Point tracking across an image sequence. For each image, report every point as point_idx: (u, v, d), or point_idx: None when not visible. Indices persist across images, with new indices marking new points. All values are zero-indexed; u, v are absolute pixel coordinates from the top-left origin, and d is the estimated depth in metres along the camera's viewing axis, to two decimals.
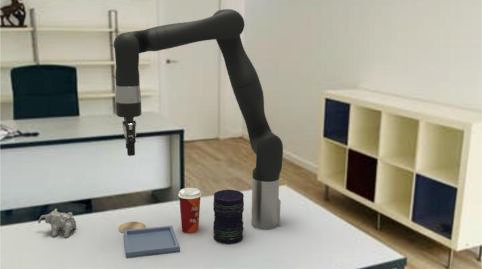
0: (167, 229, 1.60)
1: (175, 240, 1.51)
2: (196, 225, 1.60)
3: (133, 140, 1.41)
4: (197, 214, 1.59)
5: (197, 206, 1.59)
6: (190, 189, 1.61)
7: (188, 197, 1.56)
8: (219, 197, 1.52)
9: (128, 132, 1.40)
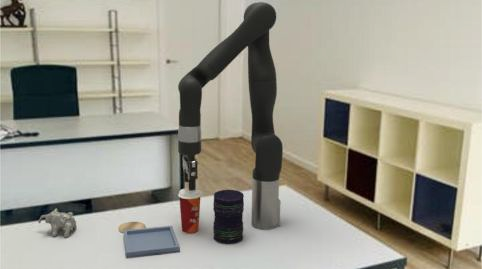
0: (167, 229, 1.60)
1: (175, 240, 1.51)
2: (196, 225, 1.60)
3: (195, 177, 1.51)
4: (197, 214, 1.59)
5: (197, 206, 1.59)
6: None
7: (188, 197, 1.56)
8: (219, 197, 1.52)
9: (191, 169, 1.51)
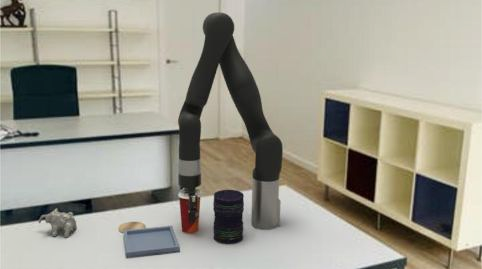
0: (167, 229, 1.60)
1: (175, 240, 1.51)
2: (196, 225, 1.60)
3: (195, 210, 1.55)
4: (197, 214, 1.59)
5: (197, 206, 1.59)
6: None
7: (188, 197, 1.56)
8: (219, 197, 1.52)
9: (191, 204, 1.53)
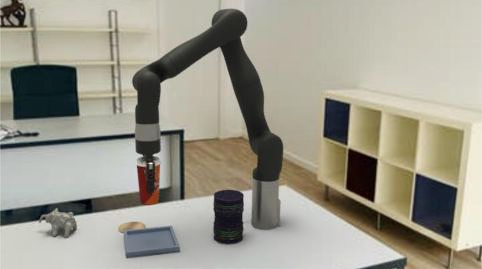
0: (167, 229, 1.60)
1: (175, 240, 1.51)
2: (155, 196, 1.47)
3: (153, 179, 1.41)
4: (156, 184, 1.46)
5: (156, 175, 1.45)
6: None
7: (145, 165, 1.43)
8: (219, 197, 1.52)
9: (148, 171, 1.40)
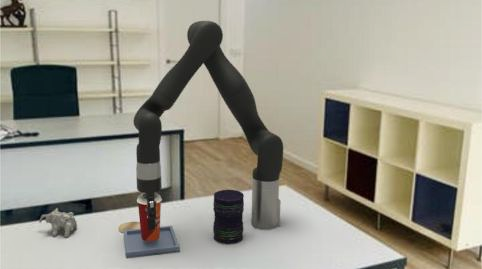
0: (167, 229, 1.60)
1: (175, 240, 1.51)
2: (156, 232, 1.49)
3: (154, 217, 1.44)
4: (157, 221, 1.48)
5: (157, 212, 1.48)
6: None
7: (146, 203, 1.45)
8: (219, 197, 1.52)
9: (149, 210, 1.43)
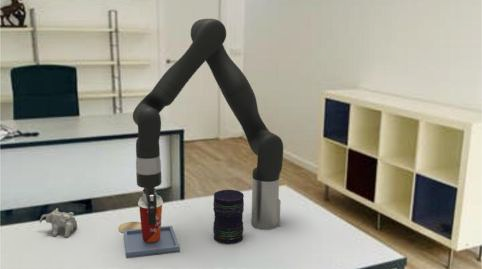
0: (167, 229, 1.60)
1: (175, 240, 1.51)
2: (157, 234, 1.50)
3: (154, 211, 1.43)
4: (158, 223, 1.49)
5: (158, 215, 1.48)
6: None
7: None
8: (219, 197, 1.52)
9: (149, 204, 1.42)
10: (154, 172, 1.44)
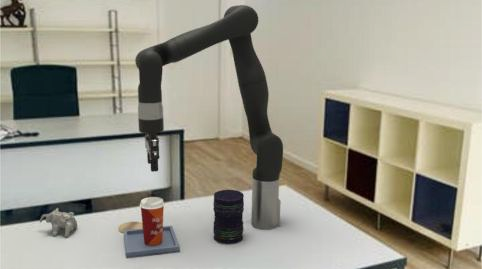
0: (167, 229, 1.60)
1: (175, 240, 1.51)
2: (158, 237, 1.49)
3: (157, 156, 1.42)
4: (159, 226, 1.48)
5: (159, 217, 1.48)
6: (153, 199, 1.50)
7: (148, 207, 1.45)
8: (219, 197, 1.52)
9: (152, 148, 1.41)
10: (156, 117, 1.43)
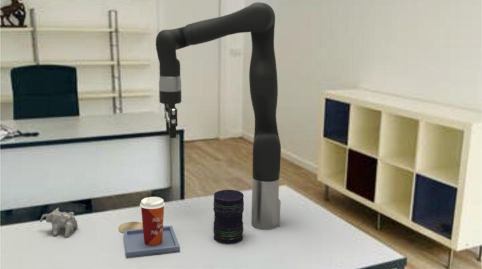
0: (167, 229, 1.60)
1: (175, 240, 1.51)
2: (158, 237, 1.49)
3: (175, 124, 1.60)
4: (159, 225, 1.48)
5: (159, 217, 1.48)
6: (153, 199, 1.50)
7: (149, 207, 1.46)
8: (219, 197, 1.52)
9: (171, 117, 1.59)
10: (175, 89, 1.61)
